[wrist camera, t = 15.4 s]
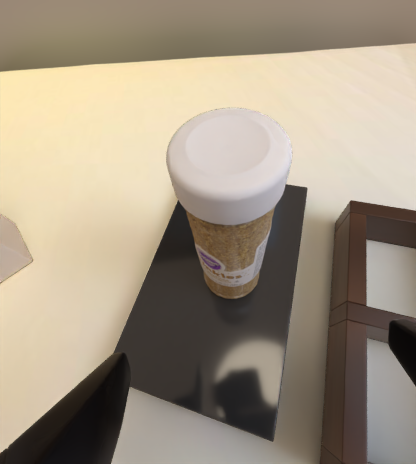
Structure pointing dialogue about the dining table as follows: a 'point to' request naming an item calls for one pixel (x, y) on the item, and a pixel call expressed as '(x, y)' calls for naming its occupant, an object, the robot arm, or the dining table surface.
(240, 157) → the sprinkles bottle
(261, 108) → the dining table surface
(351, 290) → the spice rack
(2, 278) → the milk
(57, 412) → the robot arm
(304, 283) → the dining table surface
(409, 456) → the dining table surface
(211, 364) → the slate board
